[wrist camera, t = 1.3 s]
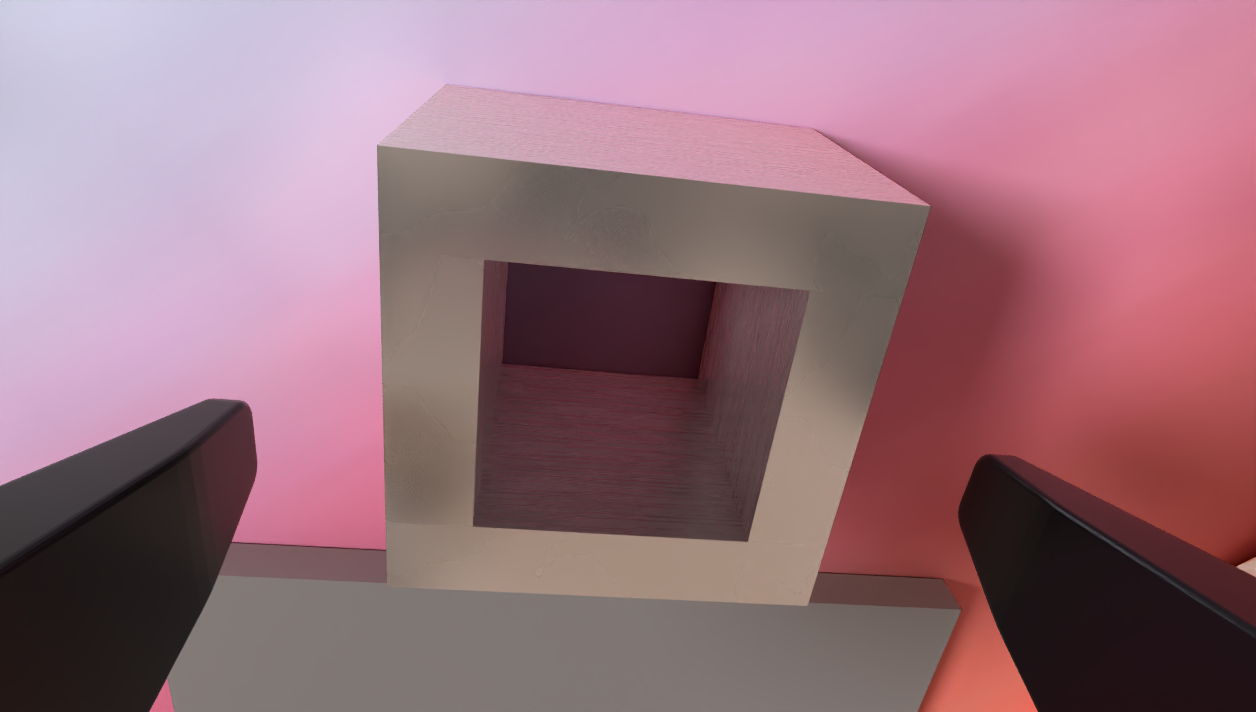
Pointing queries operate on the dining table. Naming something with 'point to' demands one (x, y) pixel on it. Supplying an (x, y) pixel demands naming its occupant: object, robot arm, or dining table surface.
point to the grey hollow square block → (618, 402)
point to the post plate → (546, 645)
